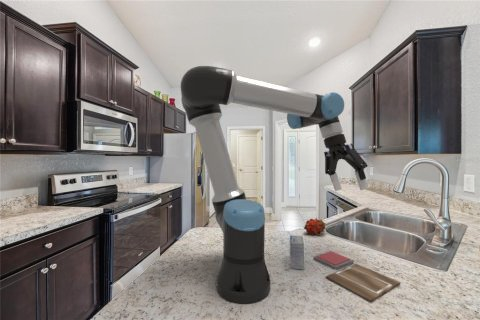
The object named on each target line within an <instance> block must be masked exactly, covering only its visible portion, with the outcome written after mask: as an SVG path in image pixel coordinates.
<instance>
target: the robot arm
mask: <svg viewBox="0 0 480 320" xmlns="http://www.w3.org/2000/svg"><path fill="white" fill-rule="evenodd" d="M180 92H181V94H180V95H181V104H182V107H183V110H184V111H185V114H186V117H187V121H188V124H189V125H191V126H192V127H194V128H195V132H196V135H197V138H198V143H199V146H200V148H201V149H200V150H201V152H202V155H203V160H204V163H205V166H206V169H207V173H208V176H209V179H210V183H211V187H212V190H213V194H214V195H213V197H212V198H211V202H212V206H213V210H214V214H215V215H214V216H215V220H216V222H217V224H218V226H219V227H220V229H221V231H222V233H223V234H222V237H223V246H222V247H223V249H222V250H223V254H222V261H221V264H220V268H219V271H218V273H217V277H216V291H217V293H218V294H219V295H220V296H221V297H222V298H223V299H225V300H227V301H229V302H233V303H237V304H251V303H253V304H254V303H257V302H259V301H261V300H263V299H265V298H267V296H268V295H269V294H270V292H271V283H272V282H271V277H270V274H269V271H268V270H269V269H268V267H267V263H266V260H265V236H266V235H265V233H266V231H265V229H266V228H265V227H266V225H265V223H266V216H265V209H264V206H263V205H262V204H261V203H260V202H258V201H255V200H251V199H247V197H246V193H245V190H244V189H242V188H240V187H239V185H238V181H237V177H236V173H235V171H234V167H233V164H232V160H231V157H230V153H229V150H228V145H227V144H226V143H227V142H226V140H225V136H224V133H223V130H222V125H221V121H220V120H221V118H222V116H223V113H222V108H221V106H220V105H222V106H223V105H224V106H228V105H230V104H237V105H242V106H249V107H252V108H258V109H262V110H268V111H272V112H279V113H283V114H286V122H287V125H288V127H289V128H290V129H292V130H296V129H302V128H306V127H311V126H315V125H318V129H319V130H320V134H321V138H322V139H323V143H324V147H325V149H328V150H326V151H324V152H323V154H324V159H325V160H324V173H325V175H328V176H329V177H330V181H331V183H332V186H333V189H334V191H335V192H337V191H340V190H342V185H341V183H340V179H339V176H338V173H337V171H336V170H337V166H338V162H339V161H340V160H343V161H345V162H346V163H347V164H348V165H349V166H351V167H352V168H353V169H354V175H355V178H356V181H357V183H358V188H359V189H360V191H364V190H367V189H369V185H368V183H367V180H366V179H367V177H366V173H365V169H366V168H367V167H369V165H368V164H367V162H366V161H365V160H364V158H363V157H362V156H361V155H360V153H358V151H357V150H356V149H355V147H354V145H353V143H348V144H346V143H347V140H346V137H345V134H344V133H343V132H344V131H343V128H342V125H341V121H340V119H339V116H341V114H342V113H343V112H344V109H345V101H344V98H343V97H342V95H341V94H339V93H338V92H333V91H332V92H329V93H325V94H324V95H323V94H318V93H313V92H310V91H309V92H308V91H304V90H300V89H296V88H292V87H286V86H283V85H279V84H276V83H275V84H274V83H271V82H270V83H269V82H265V81H261V80H258V79H253V78H249V77H245V76H240V75H236V73H235V71H234V70H232V69H228V68H223V67H218V66H213V65H211V66H210V65H198V66H194V67H192V68H190V69H188V70H187V71H186V72H185V73H184V74H183V76H182V78H181V80H180Z"/></svg>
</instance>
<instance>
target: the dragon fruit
mask: <svg viewBox="0 0 480 320" xmlns="http://www.w3.org/2000/svg"><path fill="white" fill-rule="evenodd" d="M303 230H305V233H306V234H308V235H315V236H316V237H317V236H318V235H321V233H324V232H326V223H325V221H323V219H318V218H317V217H315V218H310V219H309V220H306V221H305V224H304V226H303Z"/></svg>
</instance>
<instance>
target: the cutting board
mask: <svg viewBox="0 0 480 320" xmlns="http://www.w3.org/2000/svg"><path fill="white" fill-rule="evenodd" d="M325 278H326V279H327V280H328V281H330V282H333V284H336V285H337V286H340V287H341V288H342V289H345V290H347V291H349V292H350V293H352V294H353V295H356V296H358V297H360V298H361V299H364V300H365V301H367V302H369V303H373V302H374V301H376V300H377V299H379V298H381V297H382V296H384V295H386V294H387V293H389V292H390V291H392V290H394V289H395V288H397V287H399V286H400V285H401V282H400V281H398V280H396V279H394V278H392V277H389V276H386V275H384V274H381V273H378V272H377V271H375V270H372V269H370V268H367V267H364V266H363V265H360V264H357V263H355V264H354V263H353V265H352V264H351V265H348V266H346V267H344V268H343V269H342V268H341V269H339V270H338V271H337V270H336V271H335V272H333V273H331V274H328V275H326V276H325Z"/></svg>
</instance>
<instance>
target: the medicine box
mask: <svg viewBox="0 0 480 320" xmlns="http://www.w3.org/2000/svg"><path fill="white" fill-rule="evenodd" d="M289 260H290V269H292V270H302V271H304V270H305V244H304V239H303V236H302V235H289Z"/></svg>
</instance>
